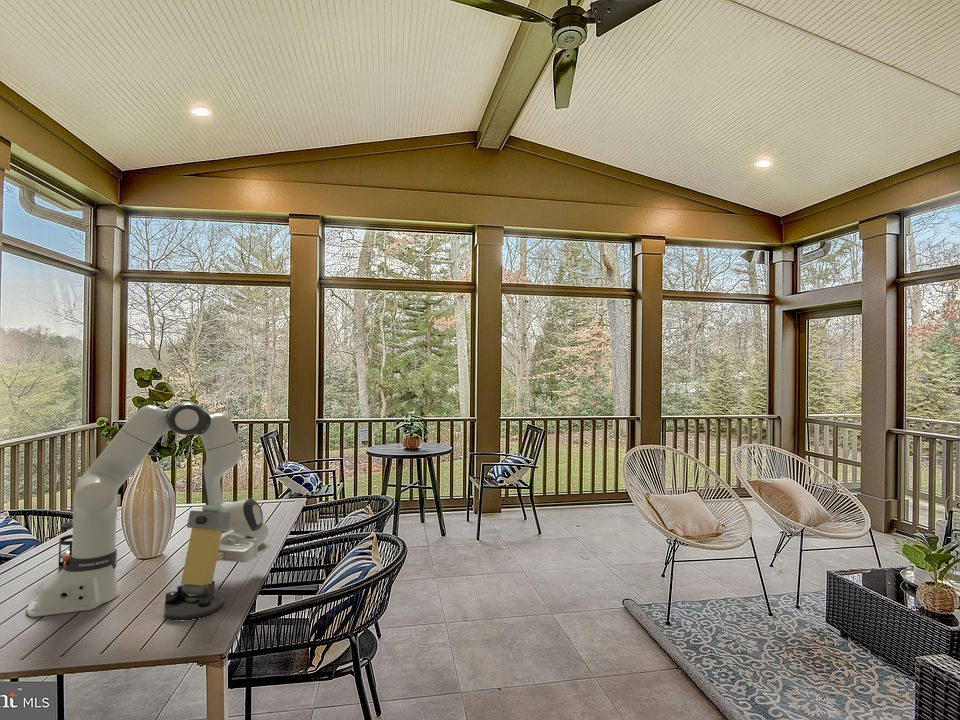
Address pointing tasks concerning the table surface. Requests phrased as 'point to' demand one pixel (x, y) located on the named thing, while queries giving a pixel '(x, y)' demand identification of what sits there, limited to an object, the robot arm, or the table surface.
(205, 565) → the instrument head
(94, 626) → the table surface
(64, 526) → the french press
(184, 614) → the levelling base
